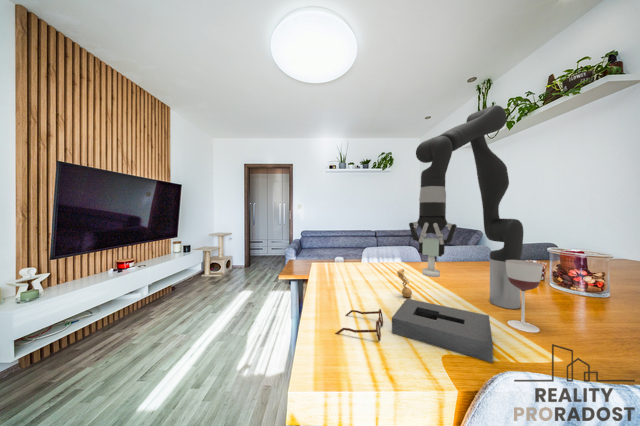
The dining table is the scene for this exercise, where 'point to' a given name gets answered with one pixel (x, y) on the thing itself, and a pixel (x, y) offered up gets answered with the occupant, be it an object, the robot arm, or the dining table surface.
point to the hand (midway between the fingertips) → (431, 255)
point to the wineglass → (523, 286)
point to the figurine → (405, 290)
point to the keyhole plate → (445, 328)
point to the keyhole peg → (431, 256)
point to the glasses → (366, 330)
